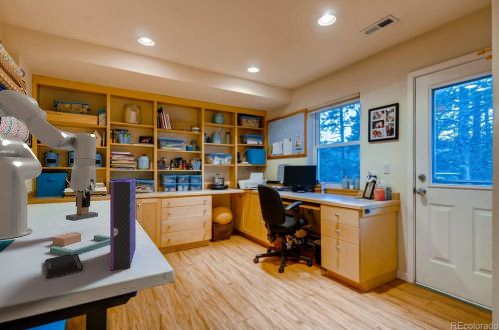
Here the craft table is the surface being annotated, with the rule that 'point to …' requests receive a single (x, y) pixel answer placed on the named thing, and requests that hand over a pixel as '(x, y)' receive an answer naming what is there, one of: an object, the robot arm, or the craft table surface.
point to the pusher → (81, 211)
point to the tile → (66, 239)
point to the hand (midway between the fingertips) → (82, 206)
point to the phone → (62, 266)
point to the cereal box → (122, 223)
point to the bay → (63, 251)
